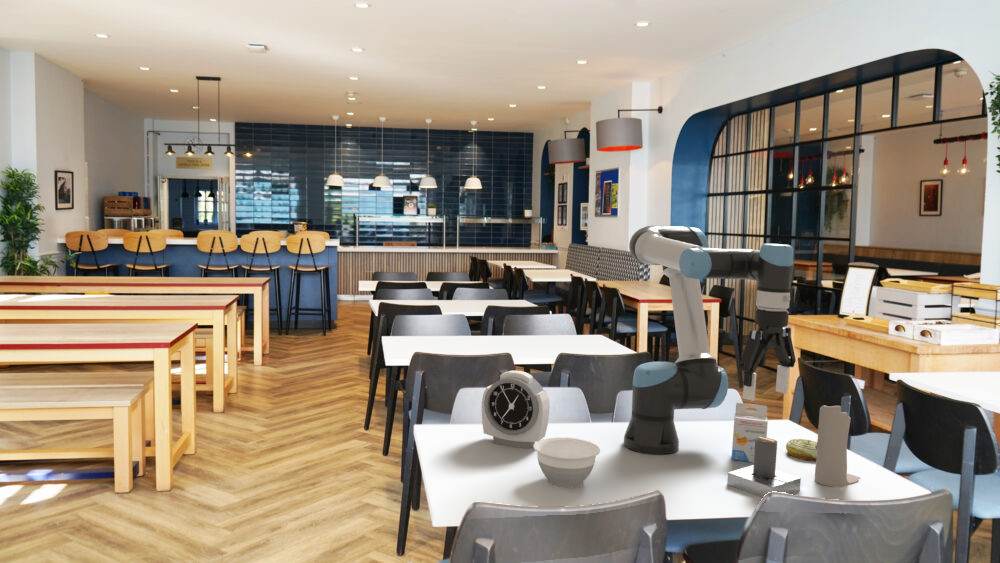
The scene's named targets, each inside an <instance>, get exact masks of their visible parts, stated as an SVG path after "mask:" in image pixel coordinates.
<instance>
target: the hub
mask: <svg viewBox="0 0 1000 563" xmlns="http://www.w3.org/2000/svg"><path fill="white" fill-rule="evenodd" d="M753 467H754V464H752V465H748V466H745V467H741V468H739V469H735V470H731V471H728V472H727V480H726V481H727V483H726V484H727V485H728V486H730V487H734V488H735V489H740V490H741V491H744V492H747V493H750V494H753V495H756V496H759V497H761V498H764V497H763V496H764V495H765V494H767V493H768V492H772V491H777V492H786V493H790V494H792V493H795V492H798V491H800V490H801V480H802V479H801V478H802V477H799V476H797V475H793V474H789V473H786V472H783V471H779V470H777V469H775V477H774V478H771V479H768V480H766V479H763V478H760V477H757V476H754V475H753Z"/></svg>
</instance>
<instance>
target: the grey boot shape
mask: <svg viewBox="0 0 1000 563" xmlns="http://www.w3.org/2000/svg"><path fill="white" fill-rule="evenodd" d="M851 419H852V418H851V416H849V414H848V412H846V411H842V406H840V405H832V406H828V405H821V407H819V416H818V428H817V430H818V431H817V441H816V442H817V458H816V460H815V467H814V468H815V470H814V481H815V482H816V483H818V484H820V485H822V486H823V485H824V486H827V487H834V488H838V487H840V488H841V487H845V486H849V485H853V484H855V483H858V482H859V479H861V477H860V476H857V475H854V474H851V473H848V459H847V458H848V456H847V455H848V454H847V453H848V452H847V449H848V448H847V447H848V438H849V432H850V425H851Z"/></svg>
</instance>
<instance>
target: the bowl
mask: <svg viewBox="0 0 1000 563" xmlns="http://www.w3.org/2000/svg"><path fill="white" fill-rule="evenodd" d="M532 448H533V449H534V450H535V451H536V452H537V462H538V465H539V468H540V469H541V473H542V474H543V476H544V477H545V478H546V481H547V484H548V485H551V486H552V487H556V488H559V489H576V488H580V487H582V486H583V485H584V483H585V482H584V481H586V479H587V478H588V477H589V476H590V474H591V472H592V470H593V469H594V466H595V463H596V459H597V458H596V456H598V455H599V454H600V453H601V448H600V447H599V446H598V445H597V444H595V443H593V442H591V441H588V440H584V439H579V438H572V437H549V438H542V439H541V440H540V441H537V442H535V444H534V445H533V447H532Z"/></svg>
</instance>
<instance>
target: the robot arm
mask: <svg viewBox="0 0 1000 563" xmlns="http://www.w3.org/2000/svg"><path fill="white" fill-rule="evenodd" d="M628 246H629V253H630V255H631V256H632V258H633V259H634V260H635V261H636V262H638V263H642V264H644V265H649V266H662V274H663V275H664V276H666V277H667V278H669V286H670V287H669V288H670V295H671V303H672V310H673V318H674V327H675V333H676V341H677V343H676V344H677V348H678V357H677V359H676V361H675V362H671V361H649V362H645V363H641V364H639V365H637V366H636V368H635V369H634V370H633V371H634V372H633V377H632V378H633V379H632V396H631V397H632V398H631V418H630V420H629V422H628V425H627V428H626V430H625V433H624V435H623V436H624V437H623V445H624V446H625V447H626V448H628V449H630V450H632V451H635V452H638V453H643V454H644V453H645V454H650V455H652V454H653V455H667V454H672V453H673V454H674V453H675V452H677V451H679V448H680V447H679V446H680V441H679V436H678V431H677V430H676V425H675V420H674V419H675V410H691V409H695V410H699V409H701V410H707V409H712V408H713V409H714V408H717V407H719V406H721V405H722V404H723V403H724V402H725V398H726V397H727V395H728V390H729V379H728V378H729V377H728V374H727V372H726V371H725V370H726V369H724V368H723V367H721V366H719V365H718V363H717V358H716V357H715V356H713V355H712V354H711V351H710V345H709V339H708V338H709V337H708V330H707V323H706V317H705V316H706V315H705V310H704V303H703V302H704V301H703V295H702V288H701V281H700V280H702V279H703V280H704V279H705V280H708V279H710V280H712V279H717V280H751V281H756V282H757V290H756V299H755V305H756V307H757V308H756V309H755V313H754V323H755V324H756V325H758V329H757V330H754V329H750V330H749V332H748V339H747V341H746V344H745V347H744V349H743V354H742V355H741V358H740V361H739V363H738V370H739V371H741V372H743V373H744V374H743V391H742V399H744V400H749V401H751V402H752V401H753V402H754V401H755V400H756V386H757V384H756V383H757V374H758V373H756V369H757V368H758V365H759V364H760V362H761V360H762V359H763V357H764V355H765V352H767V351H769V350H770V349H773V351H774V353H775V356H776V358H777V360H778V362H779V365H777V370H776V382H775V392H776V393H781V394H784V395H786V394H788V387H789V385H788V384H789V376H790V368H794V367H795V363H796V362H797V359H796V355H795V351H794V345H793V341H792V328H791V327H788V324H789V317H790V316H789V314H790V312H789V310H788V309H790V301H791V289H792V288H791V287H792V280H793V269H794V263H795V262H794V247H793V246H792V245H790V244H782V243H781V244H780V243H762V244H761V245H760V250H758V249H753V248H749V247H748V248H747V247H746V248H744V247H743V248H715V247H714V248H713V247H712V248H711V247H709V246H710V245H709V242H708V239H707V236H706V234H705V233H704V232H703V231H702V230H701V229H700V228H697V227H691V226H687V225H683V226H674V225H673V226H672V225H671V226H670V225H646V226H643V227H642V228H641V227H640V228H639V229H638V230H636V231H635V232H634V233H633V235H632V236H631V237H630V240H629V244H628Z"/></svg>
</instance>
